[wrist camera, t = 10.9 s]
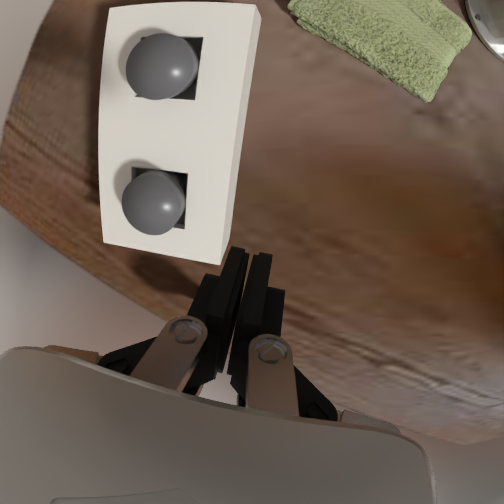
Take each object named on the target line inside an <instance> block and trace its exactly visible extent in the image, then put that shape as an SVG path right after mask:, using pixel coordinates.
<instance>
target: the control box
mask: <svg viewBox="0 0 504 504" xmlns="http://www.w3.org/2000/svg"><path fill="white" fill-rule="evenodd" d="M260 24H261V16H260V14H259V12H258V9H257V7H256V5H251V4H240V3H223V2H166V3H150V4H138V5H129V6H120V7H113V8H110V9H109V15H108V21H107V28H106V35H105V43H104V51H103V60H102V71H101V84H100V100H99V129H98V159H99V190H100V207H101V220H102V231H103V241H104V243H109V244H114V245H119V246H124V247H129V248H134V249H139V250H144V251H149V252H154V253H159V254H164V255H169V256H175V257H180V258H185V259H190V260H195V261H201V262H206V263H211V264H217V265H220V263H221V260H222V257H223V255H224V252H225V249H226V246H227V244H228V241H229V238H230V230H231V222H232V214H233V206H234V199H235V191H236V183H237V176H238V169H239V161H240V154H241V147H242V140H243V133H244V126H245V119H246V113H247V106H248V99H249V93H250V86H251V80H252V73H253V67H254V60H255V54H256V48H257V42H258V36H259V30H260ZM158 33H167V34H171V35H174V36H177V37H180V38H182V39H184V40H186V41H187V42H189V43H190V44H191V45H192V47H193V48H194V49H195V51H196V53H197V54H198V55H199V56H200V65H199V72H198V80H197V82H195V83H194V84H193V85H191V86H190V87H189V88H188V89H187V90H185V91H184V92H183V93H181V94H179V95H177V96H175V97H172V98H166V99H161V100H149V99H145V98H143V97H141V96H139V95H138V94H136V93H135V92H134V91H133V90H132V88H131V87H130V85H129V83H128V81H127V77H126V62H127V59H128V56H129V54H130V52H131V51H132V49H133V48H134V47H135V45H136V44H137V43H139V42H140V41H141V40H142V39H144V38H146V37H148V36H150V35H153V34H158ZM152 170H158V171H159V170H166V171H173V172H181V173H186V174H187V176H188V182H187V197H186V198H185V208H184V212H183V214H182V216H181V217H180V218H179V220H178V221H177V223H176V224H175V225H174V226H173V228H172V229H171V230H169V231H168V232H166V233H164V234H161V235H148V234H144V233H142V232H140V231H138V230H137V229H135V228H134V227H133V226H132V225H131V224H130V223H129V222H128V220H127V219H126V217H125V215H124V213H123V210H122V203H121V201H122V194H123V191H124V189H125V187H126V186H127V185H128V184H129V183H130V182H131V181H132V180H134V179H135V178H136V177H138V176H139V175H141V174H142V173H144V172H147V171H152Z"/></svg>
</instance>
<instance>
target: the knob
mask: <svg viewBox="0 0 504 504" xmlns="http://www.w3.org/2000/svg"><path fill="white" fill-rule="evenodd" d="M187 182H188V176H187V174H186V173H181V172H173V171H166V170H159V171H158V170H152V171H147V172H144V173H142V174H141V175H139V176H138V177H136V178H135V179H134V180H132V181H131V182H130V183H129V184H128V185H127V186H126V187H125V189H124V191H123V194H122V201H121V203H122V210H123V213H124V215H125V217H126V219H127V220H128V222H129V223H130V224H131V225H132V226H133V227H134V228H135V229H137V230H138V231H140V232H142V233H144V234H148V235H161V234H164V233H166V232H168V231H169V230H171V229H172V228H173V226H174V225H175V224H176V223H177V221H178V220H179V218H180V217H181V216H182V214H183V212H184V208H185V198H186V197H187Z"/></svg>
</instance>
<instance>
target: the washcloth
mask: <svg viewBox="0 0 504 504" xmlns="http://www.w3.org/2000/svg"><path fill="white" fill-rule="evenodd" d="M287 8H288V9H289V10H291V13H290V14H293V15H295V16H297V17H298V20H297V23H298V24H299V25H300V26H302V28H303V29H306V30H308V31H309V32H311V33H312V34H316V35H318V36H320V37H322V38H324V39H325V40H326V41H328V42H329V43H332V44H334V45H336V46H338V47H339V48H342V50H346V51H347V52H348V53H349V54H350V55H352V56H354V57H356V58H358V60H360V61H361V62H364V63H366V64H368V65H369V66H370V67H371V68H372V69H374V70H376V71H379V72H380V73H381V74H382V75H383V76H384V77H386V78H390V79H391V80H392V81H393V82H394V83H396V84H397V85H398V86H400V87H402V88H405V89H406V90H407V91H408V92H410V93H411V94H412V95H414V96H415V97H417V98H419V99H421V100H422V101H424V102H425V104H426V103H427V102H431V100H432V99H433V98H434V95H435V94H436V92H437V91H438V88H439V86H440V82H441V81H443V79H444V78H445V76H446V75H447V73H448V71H447V68H448V67H449V65H450V63H451V62H452V60H453V58H454V57H455V56H456V55H458V54H459V53H460V52H461V51H462V50H463V48H465V46H467V45H468V43H469V41H470V40H471V36H472V31H471V29H470V28H469V26H468V24H467V23H466V22H465V21H463V20H462V18H461V17H460V16H459V15H457V14H455V13H454V12H453V11H451V10H450V9H449V8H448V7H447V6H446V5H444V4H443V3H442V2H441V1H440V0H291V1H290V3H289V4H288V6H287Z"/></svg>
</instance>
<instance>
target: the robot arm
mask: <svg viewBox="0 0 504 504" xmlns="http://www.w3.org/2000/svg"><path fill="white" fill-rule="evenodd" d="M465 5H466V10H467V13H468V17H469V19H470V21H471V24H472V26H473V28H474V30H475V32H476V33H477V35H478V37H479V38H480V39H481V41H482V42H483V44H484V45H485V46H486V47H487V48H488V49H489V51H491V52H492V53H493V54H494V55H495V56H496V57H498V58H499V59H500V60H502V61H504V0H465ZM272 256H273V255H271V254H267V253H262V252H259V255H253V259H252V262H251V266H250V270H249V274H248V278H247V281H246V285H245V289H244V293H243V297H242V292H243V287H244V281H245V276H246V270H247V265H248V259H249V253H245V249H243V248H238V247H234V246H232V247H231V249H230V251H229V254H228V257H227V259H226V262H225V264H224V267H223V270H222V272H221V275H220V276H216V275H212V274H207V273H206V274H205V276H204V278H203V280H202V282H201V284H200V287H199V289H198V291H197V293H196V296H195V298H194V300H193V303H192V305H191V307H190V309H189V312H188V314H187V316H179V317H175V318H173V319H171V320H170V321H169V322H168V323H167V324H166V325H165V327H164V328H163V329H162V331H161V332H160V334H159V335H158V336H157V337H154V338H151V339H148V340H146V341H143V342H140V343H137V344H134V345H131V346H128V347H125V348H122V349H119V350H116V351H113V352H110V353H108V354H106V355H104V356H100V355H99V353H98V352H92V351H85V350H79V349H73V348H67V347H61V346H56V345H49V346H46V347H44V348H41V347H28V346H23V347H15V348H12V349H9V350H7V351H5V352H4V353H3V354H1V355H0V504H438V503H437V492H436V484H435V478H434V473H433V469H432V465H431V461H430V459H429V456H428V455H427V452H426V451H425V449H424V448H423V447H422V446H421V445H420V444H419V443H417V442H416V441H414V440H413V439H411V438H409V437H407V436H405V435H403V434H401V433H400V431H399V429H398V428H397V427H396V426H395V425H393V424H391V423H389V422H385V421H382V420H378V419H375V418H371V417H368V416H364V415H361V414H358V413H354V412H351V411H348V410H343V412H341V411H339V410H336V408H335V407H334V406H333V404H332V403H331V402H330V401H329V400H328V399H327V398H326V397H325V396H324V395H323V394H322V393H321V392H320V391H319V390H318V389H317V388H316V387H315V386H314V385H313V384H312V383H311V382H310V381H309V380H308V379H307V378H306V377H305V376H304V375H303V374H302V373H301V372H300V371H299V370H298V369H297V368H296V367H295V366H294V363H293V355H292V350H291V347H290V345H289V344H288V343H287V341H285V340H284V339H283V338H281V337H280V335H281V326H282V317H283V307H284V297H285V290H281V289H277V288H272V287H267V286H268V280H269V274H270V268H271V262H272ZM241 298H242V300H241ZM240 303H241V304H240ZM235 324H236V325H235ZM234 327H235V330H234ZM233 331H234V336H233V341H232V347H231V353H230V358H229V364H228V370H227V374H229V375H232V377H231V382H230V384H231V385H232V387H233V388H234V389H235V390H236V392H237V393H238V394H237V405H231V404H226V403H222V402H218V401H213V400H210V399H205V398H201V397H198V396H199V395H200V393H201V390H202V388H203V384H204V383H207V382H209V381H211V380H213V379H215V378H216V374H217V372H220V373H222V372H223V369H224V365H225V361H226V358H227V354H228V350H229V346H230V342H231V339H232V335H233Z"/></svg>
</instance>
